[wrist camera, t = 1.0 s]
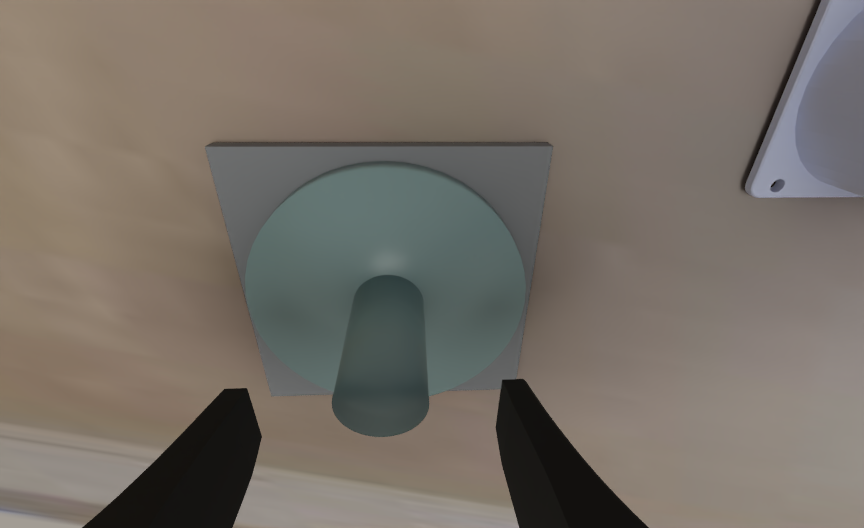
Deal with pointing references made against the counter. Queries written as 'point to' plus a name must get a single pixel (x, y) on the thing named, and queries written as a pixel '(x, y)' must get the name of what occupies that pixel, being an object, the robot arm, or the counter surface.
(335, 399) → the lid
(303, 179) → the mat
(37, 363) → the counter surface
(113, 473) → the counter surface
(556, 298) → the counter surface
